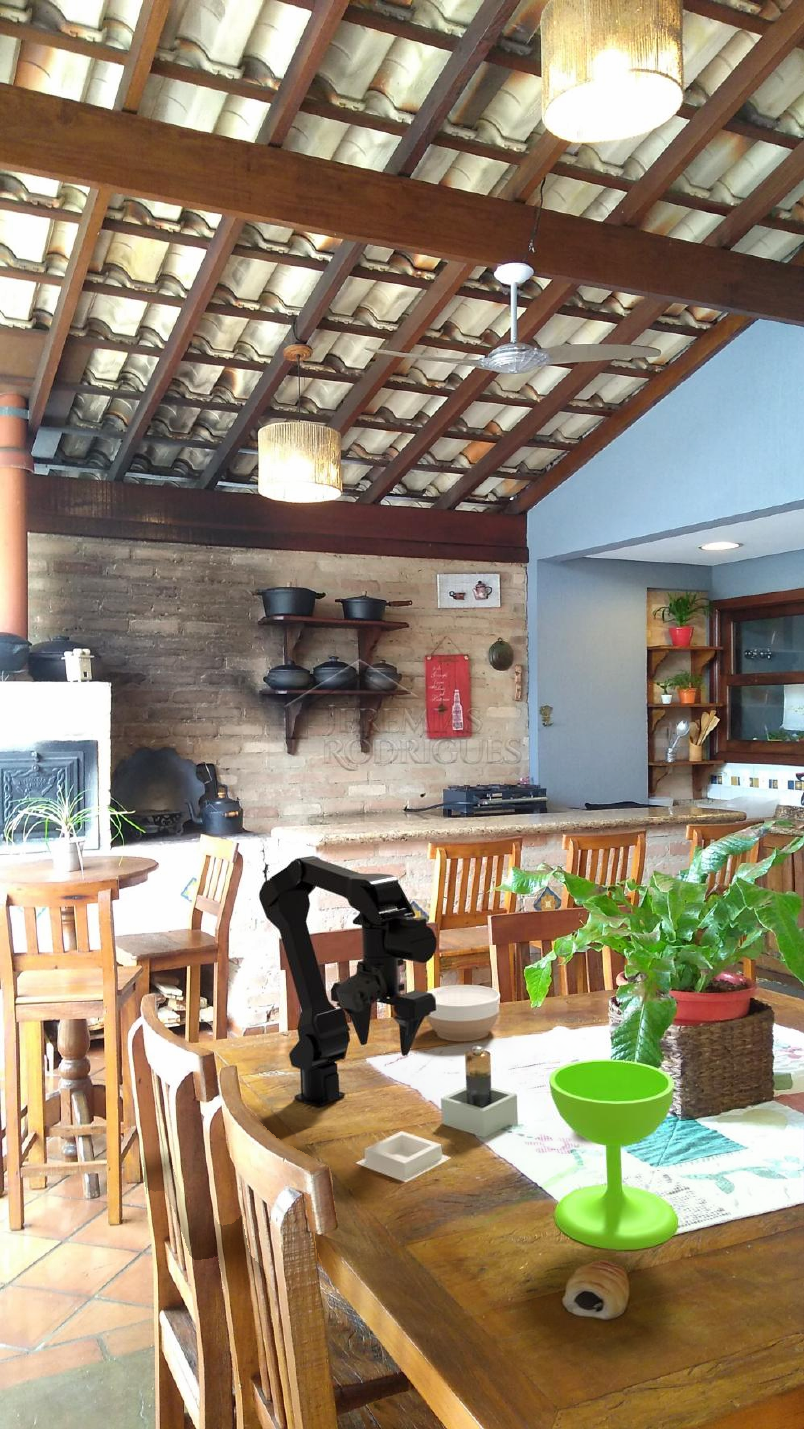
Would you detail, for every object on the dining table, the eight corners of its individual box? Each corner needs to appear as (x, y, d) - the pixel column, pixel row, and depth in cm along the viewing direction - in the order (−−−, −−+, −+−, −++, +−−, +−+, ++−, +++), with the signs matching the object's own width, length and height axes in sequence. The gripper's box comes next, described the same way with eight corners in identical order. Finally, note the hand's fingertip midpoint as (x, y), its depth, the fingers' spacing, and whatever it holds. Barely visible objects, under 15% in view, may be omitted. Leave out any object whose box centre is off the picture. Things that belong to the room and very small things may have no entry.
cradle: (355, 1169, 153) (355, 1149, 153) (401, 1147, 160) (401, 1127, 160) (406, 1189, 146) (405, 1167, 146) (451, 1164, 153) (451, 1144, 153)
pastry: (584, 1272, 123) (583, 1240, 123) (641, 1284, 120) (640, 1251, 120) (560, 1314, 115) (558, 1280, 115) (620, 1329, 112) (619, 1294, 112)
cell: (465, 1127, 164) (463, 1051, 164) (468, 1117, 168) (466, 1043, 168) (491, 1128, 164) (489, 1052, 164) (493, 1118, 168) (491, 1043, 168)
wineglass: (531, 1205, 140) (526, 1072, 140) (630, 1180, 146) (625, 1052, 146) (598, 1262, 125) (593, 1112, 125) (705, 1231, 131) (700, 1089, 131)
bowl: (504, 1044, 207) (503, 1004, 207) (424, 1046, 207) (423, 1007, 207) (498, 1020, 223) (497, 983, 223) (423, 1022, 223) (422, 985, 223)
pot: (442, 1129, 166) (441, 1098, 166) (475, 1113, 172) (474, 1083, 172) (484, 1143, 160) (483, 1111, 160) (517, 1125, 166) (516, 1094, 166)
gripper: (304, 956, 169) (308, 1052, 169) (388, 972, 157) (392, 1075, 157) (353, 943, 177) (356, 1034, 177) (436, 957, 165) (440, 1056, 165)
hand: (384, 1050), depth 169 cm, fingers open, 9 cm apart
